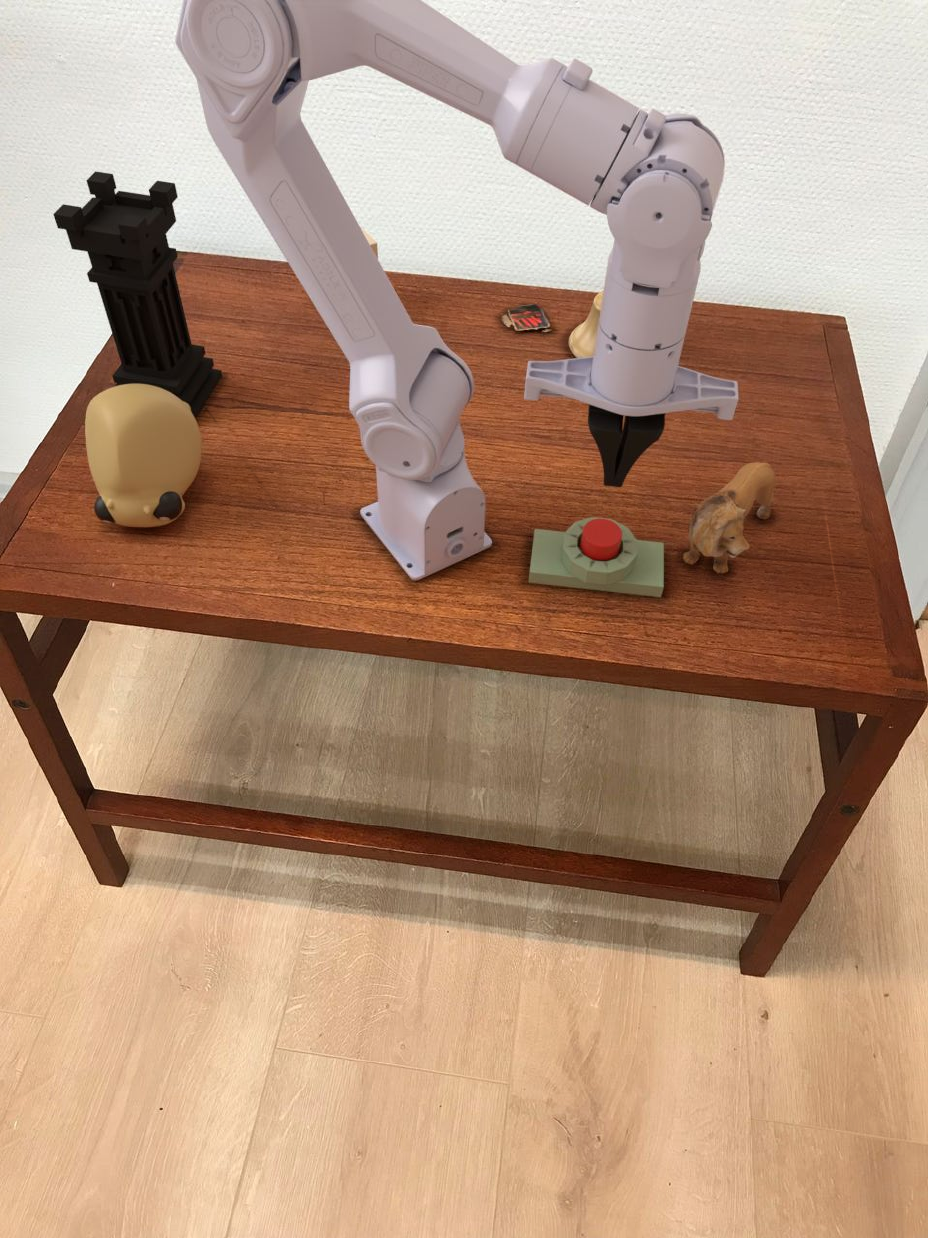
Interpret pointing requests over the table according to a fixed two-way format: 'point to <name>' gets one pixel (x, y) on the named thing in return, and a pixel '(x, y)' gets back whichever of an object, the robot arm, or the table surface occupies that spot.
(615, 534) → the button
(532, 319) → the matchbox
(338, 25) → the robot arm
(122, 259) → the chess piece
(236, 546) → the table surface
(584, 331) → the hand bell
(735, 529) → the lion figurine
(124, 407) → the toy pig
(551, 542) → the button box
